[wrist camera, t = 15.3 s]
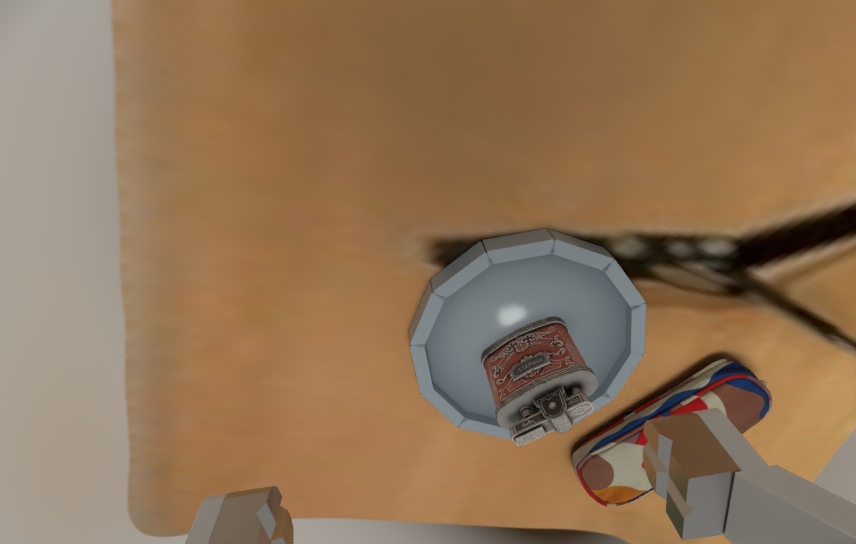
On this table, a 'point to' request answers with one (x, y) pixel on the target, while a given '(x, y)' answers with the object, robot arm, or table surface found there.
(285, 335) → the table surface
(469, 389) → the dish
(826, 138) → the table surface
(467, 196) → the table surface
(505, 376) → the lighter
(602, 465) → the pencil case
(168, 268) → the table surface
